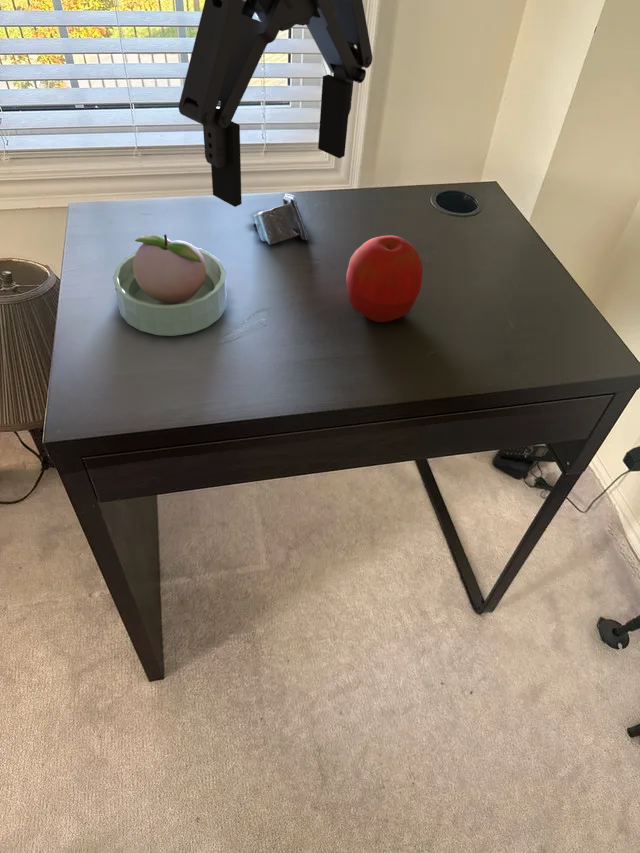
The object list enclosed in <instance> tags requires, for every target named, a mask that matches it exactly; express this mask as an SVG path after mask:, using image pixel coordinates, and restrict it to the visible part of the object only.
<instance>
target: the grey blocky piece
mask: <svg viewBox="0 0 640 853" xmlns="http://www.w3.org/2000/svg"><path fill="white" fill-rule="evenodd" d="M299 209H300V208H299V206H298V201H297V198H296V196H295V195H294V194H289V193H285V195H284V196H283V198H282V204H281V205H279V206H276V207H272V208H270V209H265V210H262V211H259V212H257V213H255V214H253V219H254V221H255V222H253V225H252V226H253V228H254V229H256V230H257V234H258V236H259V238H260V240H261V241H262V242H267V244H268V245H270V246H271V245H275V244H278V243H279V242H283V241H286V240H289V239H292V238H295V237H298V236H299V237H300V238H301V240H304V241H307V242H309V236H308V233H307V229H306V228H307V226H306V225H305V224H304V223H305V222H304V220H303V216H302V214H301V211H300V210H299Z"/></svg>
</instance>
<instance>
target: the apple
mask: <svg viewBox="0 0 640 853" xmlns="http://www.w3.org/2000/svg"><path fill="white" fill-rule="evenodd" d="M423 271H424V270H423V262H422V260H421V257H420V255H419V253H418V251H417V249H416V247H414V245H413V244H412V243H410V242H409V241H407V240H406V239H404V238H403V237H400V236H397V235H381V236H376V237H373V238H371V239H368V240H366V241H365V242H363V243H362V244H361V245H360V246H359V247H358V248H357V249H356V250H354V253H353V254H352V255H351V256H350V259H349V262H348V267H347V271H346V275H345V276H346V278H345V280H346V287H347V288H346V289H347V296H348V301H349V302H348V303H349V304H350V306H351V307H352V308H353V310H355V311H357V312H358V313H359V314H361V315H363V316H364V317H366V318H367V319H368V320H371V321H373V322H376V323H386V322H391V321H394V320H397V319H400V318H402V317H404V316H405V315H408V314H409V313H410V311H411V309H412V308H413V306H414V305H415V301H416V300H417V298H418V296H419V294H420V291H421V289H422V282H423Z"/></svg>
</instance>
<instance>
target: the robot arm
mask: <svg viewBox="0 0 640 853" xmlns="http://www.w3.org/2000/svg"><path fill="white" fill-rule="evenodd" d="M254 15H255V16H256V18H257V19H256V18H253V17H254ZM296 25H297V26H305V25H306V27H307V29H308V31H309V33H310V35H311V37H312V39H313V41H314V42H315V45H316V46H317V48H318V50H319V52H320V55H321V56H322V58H323V60H324V62H325V63H326V65H327V67H328V69H329V71H330V73H332V74H333V75H331V74H329V73H328V74H326V75H323V76H322V83H321V84H322V85H321V97H320V116H319V126H318V127H319V130H318V145H317V146H318V147H317V150H319V151H322V152H324V153H326V154H329V155H330V156H333V157H334V158H337V159H341V158H344V157H345V155H346V144H347V135H348V134H347V133H348V126H349V125H348V124H349V115H350V112H351V109H352V101H353V98H352V97H353V93H354V92H353V91H354V82H356V83H358V84H362V83H363V82H364V81H365V79H366V75H367V70H366V69H368V68H370V67H371V65H372V62H373V52H372V47H371V46H372V45H371V40H370V35H369V30H368V23H367V18H366V12H365V8H364V2H363V0H204V3H203V8H202V12H201V15H200V19H199V23H198V27H197V31H196V35H195V39H194V42H193V46H192V47H193V48H192V51H191V55H190V60H189V63H188V68H187V70H186V75H185V79H184V83H183V88H182V91H181V95H180V98H179V102H178V103H179V104H178V111H179V114H180V115H181V116H184V117H185V118H187V119H190V120H192V121H194V122H195V123H198V124H200V125H202V130H203V144H204V145H203V147H204V158H205V160H206V162H207V163H208V164H210V167H211V168H210V170H211V185H212V196H214V197H216V198H217V199H219V200H221V201H223V202H225V203H226V204H229V205H230V206H232V207H234V208H236V207H238V206H240V205H242V204H243V203H242V202H243V201H242V168H241V167H242V165H241V164H242V162H241V130H240V129H241V126H240V125H241V124H239V123H236V122H234V121H232V120H233V118H234V116H235V114H236V112H237V110H238V108H239V105H240V103H241V101H242V99H243V97H244V95H245V93H246V90H247V89H248V86H249V85H250V83H251V80H252V78H253V75H254V74H255V71H256V69H257V67H258V65H259V63H260V61H261V58H262V56H263V54H264V53H265V50H266V48H267V46H268V44H271V43H273V42H274V41H275V40H276V39H277V37H278V35H279V32H285V31H288V30H290V29H292V28H294V26H296ZM219 103H220V106H218V104H219Z"/></svg>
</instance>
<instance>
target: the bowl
mask: <svg viewBox="0 0 640 853" xmlns="http://www.w3.org/2000/svg"><path fill="white" fill-rule="evenodd" d="M196 248H197V249H198V250H199V251H200V253H201V254H202V256H203V258H204V261H205V267H206V274H205V279H204V282H203V284H202V286H201V287H200V289H199V290H198V291H197V292H196V293H195V294H194V295H193V296H192V297H191V298H190V299H188V300H186V301H182V302H177V303H173V302H163V301H159V300H156V299H153V298H151V297H150V296H148V295H147V294H146V293H145V292H144V291H143V290H142V289H141V288H140V286H139V285H138V283H137V281H136V279H135V276H134V272H133V263H134V258H135V255H136V252H137V250H136V251H135V252H133V253H131V254H129V255H127V256H126V257H124V258H123V259H122V260H121V261H120V262H119V263H118V264H117V266H116V267H115V269H114V271H113V275H112V280H113V285H114V291H115V293H116V301H117V305H118V309H119V314H120V316H121V317H122V318H123V319H124V321H125V322H126V323H127V324H128V325H130V326H131V327H133V328H134V329H137V330H138V331H141V332H144V333H146V334H147V333H148V334H152V335H155V336H168V337H169V336H170V337H175V336H176V337H177V336H183V335H189V334H193V333H196V332H199V331H201V330H203V329H206V328H208V327H210V326H211V325H213V324H214V323H215V322H217V321H218V320H219V319H220V318H221V317H222V315H223V313H224V312H225V311H226V309H227V303H228V291H227V290H228V289H227V273H226V269H225V267H224V265H223V263H222V261H221V260H219V259H218V257H216V255H214V254H213V253H210V252H209V251H206V250H205V249H203V248H199V247H196Z"/></svg>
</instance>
